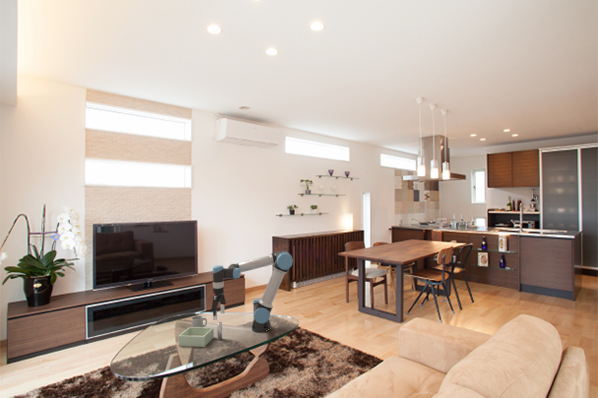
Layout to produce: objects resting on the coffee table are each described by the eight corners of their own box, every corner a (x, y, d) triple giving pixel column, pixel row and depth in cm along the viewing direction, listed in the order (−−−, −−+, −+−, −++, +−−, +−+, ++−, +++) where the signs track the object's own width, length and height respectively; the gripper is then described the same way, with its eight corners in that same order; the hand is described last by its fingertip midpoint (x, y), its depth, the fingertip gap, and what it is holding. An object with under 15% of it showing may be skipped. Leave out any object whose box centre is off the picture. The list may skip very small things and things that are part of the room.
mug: (193, 335, 250) (193, 320, 250) (190, 331, 257) (189, 317, 257) (209, 330, 258) (208, 316, 258) (205, 327, 264) (204, 313, 264)
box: (213, 337, 245) (213, 327, 245) (204, 346, 229) (204, 336, 229) (189, 336, 248) (189, 326, 248) (178, 345, 232) (178, 335, 232)
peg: (222, 338, 242) (222, 322, 242) (221, 340, 239) (220, 323, 239) (218, 338, 243) (218, 321, 243) (217, 340, 240) (216, 323, 240)
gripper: (220, 282, 254) (220, 310, 254) (206, 292, 229) (206, 322, 229) (229, 283, 253) (230, 311, 253) (216, 292, 228) (216, 323, 228)
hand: (218, 316), depth 241 cm, fingers open, 13 cm apart
